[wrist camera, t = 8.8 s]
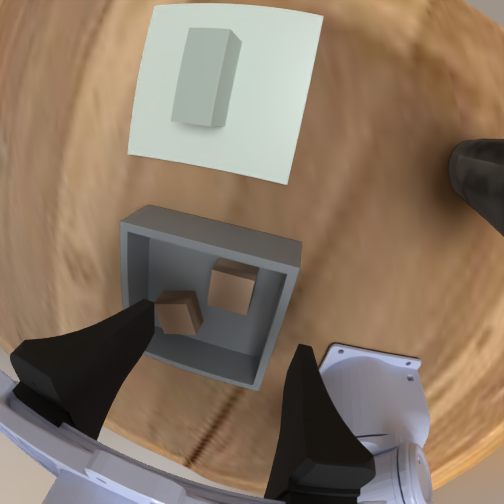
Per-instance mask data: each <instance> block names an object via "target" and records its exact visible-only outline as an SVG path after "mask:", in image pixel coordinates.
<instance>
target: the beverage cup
mask: <svg viewBox="0 0 504 504" xmlns="http://www.w3.org/2000/svg"><path fill="white" fill-rule="evenodd" d="M449 177H450V182H451V184H452V186H453V188H454V190H455V191H456V192H457V193H458V194H459V195H460V196H461V197H462V198H463V199H464V200H465V201H466V202H467V203H468V204H469V205H470V206H471V207H472V208H473V209H474V210H476V211H477V212H478V213H479V214H480V215H481V216H482V217H483V218H485V219H486V220H487V221H488V222H489V223H490V224H491V225H492V226H493V227H494V228H495V229H496V230H497V231H498V232H499V233H500V234H502V235H503V236H504V139H478V140H467V141H464V142H462V143H460V144H459V145H458V146H457V147H456V148H455V150H454V151H453V153H452V154H451V158H450V161H449Z"/></svg>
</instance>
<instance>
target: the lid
mask: <svg viewBox="0 0 504 504" xmlns="http://www.w3.org/2000/svg"><path fill="white" fill-rule="evenodd" d="M322 22H323V16H320V15H316V14H311V13H305V12H300V11H294V10H287V9H281V8H273V7H264V6H254V5H241V4H219V3H193V4H171V5H158V6H155V7H154V11H153V14H152V18H151V22H150V25H149V29H148V33H147V38H146V42H145V46H144V51H143V55H142V60H141V65H140V70H139V75H138V81H137V87H136V93H135V99H134V105H133V112H132V120H131V128H130V136H129V146H128V154H130V155H137V156H144V157H151V158H157V159H163V160H169V161H175V162H181V163H186V164H192V165H197V166H202V167H208V168H213V169H218V170H223V171H228V172H232V173H237V174H242V175H246V176H251V177H255V178H260V179H264V180H268V181H273V182H277V183H281V184H285V185H287V183H288V179H289V175H290V171H291V166H292V162H293V157H294V153H295V149H296V144H297V140H298V135H299V131H300V126H301V122H302V117H303V113H304V108H305V104H306V99H307V94H308V90H309V85H310V80H311V76H312V71H313V66H314V61H315V56H316V52H317V47H318V42H319V37H320V32H321V27H322Z"/></svg>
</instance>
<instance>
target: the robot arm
mask: <svg viewBox="0 0 504 504" xmlns="http://www.w3.org/2000/svg"><path fill="white" fill-rule="evenodd" d="M154 308H155V302H152V301H149V300H146V299H142V300H141V301H139V302H137V303H135V304H133V305H132V306H130V307H128V308H126V309H124V310H123V311H121V312H119V313H117V314H115V315H113V316H112V317H109V318H107V319H105V320H103V321H101V322H99V323H97V324H95V325H92V326H90V327H87V328H84V329H82V330H79V331H75V332H72V333H68V334H65V335H61V336H56V337H50V338H43V339H32V340H24V341H23V342H22V343H21V344H20V345H19V346H18V347H17V348H16V349H15V350H14V351H13V352H12V353H11V355H10V360H11V364H12V366H13V368H14V370H15V372H16V374H17V376H18V377H19V380H20V382H19V383H18V384H16V383H15V382H14V381H13V380H12V379H11V378H10V377H9V376H8V375H6V374H5V373H4V372H3V371H1V370H0V431H1V432H2V433H3V434H4V435H5V436H6V437H8V438H9V439H10V440H11V441H12V442H13V443H14V444H16V445H17V446H18V447H19V448H21V450H23V451H24V452H25V453H26V454H27V455H29V456H30V457H31V458H32V459H34V460H35V461H36V462H38V463H39V464H40V465H41V466H43V467H44V468H46V469H47V470H48V471H49V472H51V473H52V474H54V475H55V476H56V477H57V479H56V480H55V482H54V484H53V485H52V487H51V489H50V491H49V492H48V494H47V496H46V498H45V499H44V501H43V503H42V504H433V501H432V482H431V475H430V471H429V467H428V463H427V460H426V457H425V454H424V452H423V450H422V447H423V446H424V444H425V442H426V440H427V437H428V433H429V427H430V415H429V410H428V406H427V402H426V398H425V395H424V391H423V387H422V384H421V380H420V377H419V374H418V368H419V367H420V365H421V361H420V359H416V358H410V357H404V356H398V355H392V354H387V353H381V352H376V351H370V350H365V349H360V348H355V347H350V346H345V345H341V344H333V345H331V346H330V348H329V350H328V352H327V354H326V356H325V358H324V360H323V362H322V364H321V366H320V368H319V369H318V366H317V363H316V359H315V356H314V352H313V348H312V347H311V346H307V345H303V344H299V345H298V347H297V349H296V352H295V354H294V357H293V359H292V361H291V364H290V366H289V369H288V371H287V375H286V380H285V385H284V392H283V404H282V416H281V428H280V435H279V440H278V444H277V449H276V454H275V458H274V462H273V466H272V470H271V474H270V478H269V481H268V485H267V488H266V492H265V495H264V498H258V497H253V496H248V495H244V494H239V493H235V492H230V491H226V490H222V489H218V488H214V487H211V486H207V485H203V484H200V483H197V482H194V481H191V480H187V479H185V478H182V477H179V476H176V475H173V474H170V473H167V472H165V471H162V470H159V469H157V468H154V467H152V466H149V465H146V464H144V463H142V462H139V461H137V460H135V459H132V458H130V457H128V456H126V455H124V454H122V453H119V452H118V451H115V450H113V449H111V448H109V447H107V446H105V445H103V444H102V443H100V442H98V441H97V438H98V436H99V433H100V430H101V428H102V425H103V423H104V421H105V418H106V416H107V414H108V411H109V409H110V407H111V405H112V403H113V401H114V399H115V397H116V395H117V393H118V391H119V389H120V387H121V385H122V383H123V382H124V380H125V379H126V377H127V376H128V374H129V373H130V371H131V370H132V369H133V367H134V366H135V364H136V363H137V362H138V360H139V359H140V357H141V356H142V354H143V353H144V351H145V350H146V349H147V347H148V345H149V343H150V341H151V339H152V337H153V335H154V333H155V311H154ZM339 350H342V351H339ZM407 362H408V363H407Z"/></svg>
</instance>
